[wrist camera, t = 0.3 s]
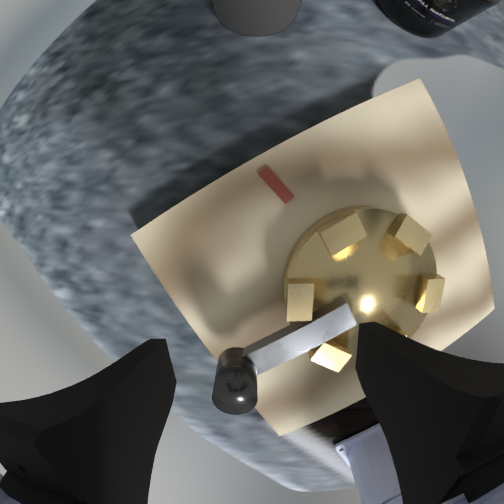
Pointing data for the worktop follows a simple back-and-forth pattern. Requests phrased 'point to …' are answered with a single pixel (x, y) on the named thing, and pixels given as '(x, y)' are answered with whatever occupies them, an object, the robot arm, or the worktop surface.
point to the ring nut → (339, 296)
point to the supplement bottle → (432, 14)
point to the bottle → (256, 15)
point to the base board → (300, 219)
